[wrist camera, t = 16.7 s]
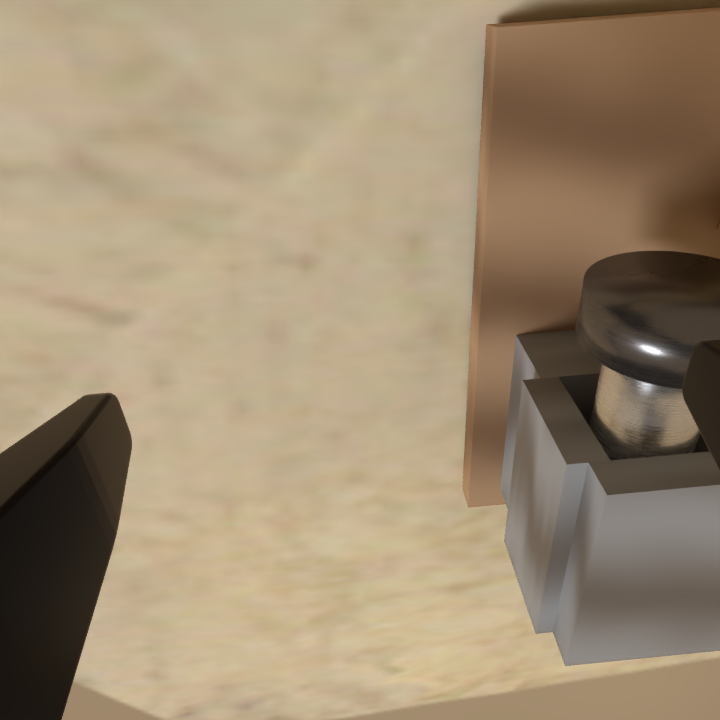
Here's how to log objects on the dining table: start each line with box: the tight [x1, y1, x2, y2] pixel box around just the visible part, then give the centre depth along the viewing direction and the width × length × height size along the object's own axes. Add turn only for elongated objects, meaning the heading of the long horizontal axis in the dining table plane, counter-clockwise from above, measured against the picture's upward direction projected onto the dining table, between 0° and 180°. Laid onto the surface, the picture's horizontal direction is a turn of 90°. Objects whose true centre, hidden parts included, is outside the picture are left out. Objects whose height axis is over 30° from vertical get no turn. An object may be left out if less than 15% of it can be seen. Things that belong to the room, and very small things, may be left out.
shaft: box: [575, 251, 720, 461], centre depth 19 cm, size 15×5×5 cm, turn 3°
